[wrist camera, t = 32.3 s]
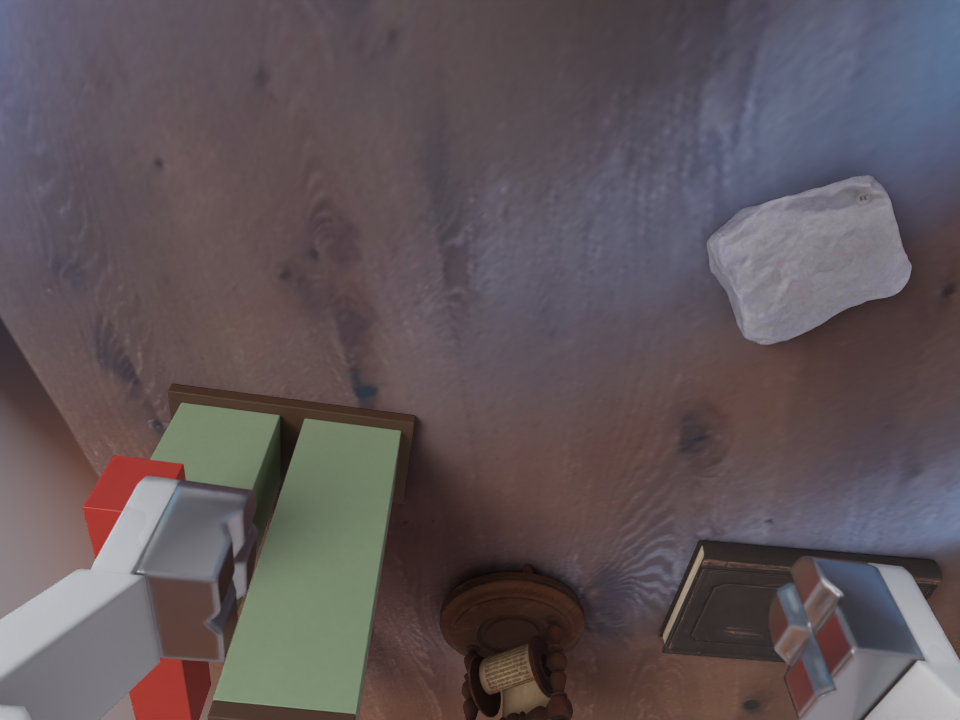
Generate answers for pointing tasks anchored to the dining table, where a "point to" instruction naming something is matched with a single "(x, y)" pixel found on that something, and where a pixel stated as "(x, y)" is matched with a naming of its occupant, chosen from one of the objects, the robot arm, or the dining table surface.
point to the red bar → (173, 682)
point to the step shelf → (298, 540)
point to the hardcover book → (748, 597)
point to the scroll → (514, 643)
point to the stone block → (808, 258)
